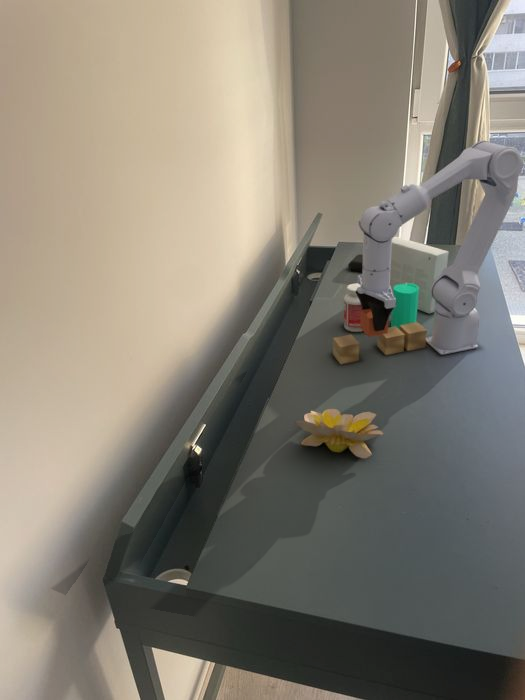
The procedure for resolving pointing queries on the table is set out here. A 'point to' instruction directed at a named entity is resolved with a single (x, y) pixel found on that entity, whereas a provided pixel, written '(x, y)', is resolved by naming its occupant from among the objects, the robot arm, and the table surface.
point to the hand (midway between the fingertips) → (374, 324)
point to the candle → (405, 304)
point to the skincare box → (417, 268)
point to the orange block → (370, 324)
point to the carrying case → (356, 263)
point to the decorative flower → (340, 431)
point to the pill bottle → (352, 309)
